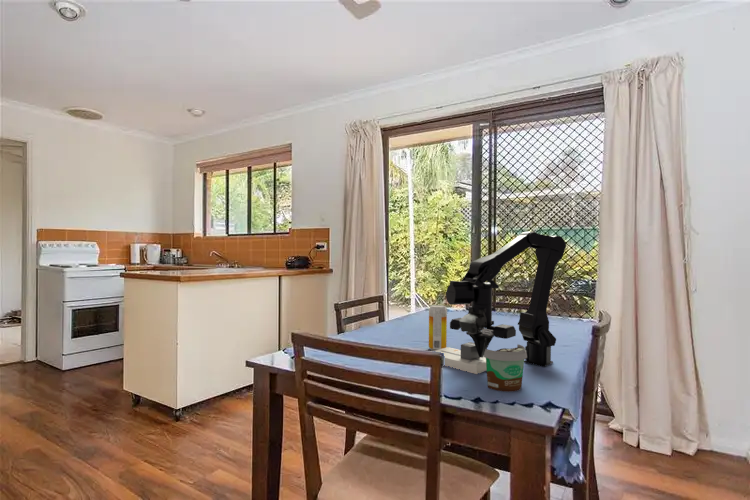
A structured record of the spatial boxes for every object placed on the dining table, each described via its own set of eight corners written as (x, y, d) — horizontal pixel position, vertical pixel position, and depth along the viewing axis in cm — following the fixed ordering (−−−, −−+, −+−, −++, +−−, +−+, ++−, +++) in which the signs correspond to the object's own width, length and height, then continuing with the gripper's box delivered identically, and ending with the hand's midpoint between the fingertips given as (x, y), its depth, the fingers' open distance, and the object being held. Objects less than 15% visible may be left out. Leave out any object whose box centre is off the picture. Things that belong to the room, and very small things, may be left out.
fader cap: (480, 357, 121) (480, 343, 121) (470, 360, 118) (471, 346, 118) (469, 354, 124) (470, 341, 124) (460, 358, 120) (460, 344, 120)
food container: (501, 396, 96) (501, 355, 96) (483, 388, 102) (483, 349, 102) (537, 388, 102) (538, 349, 102) (518, 381, 108) (519, 343, 107)
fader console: (496, 366, 121) (496, 358, 121) (476, 374, 113) (476, 365, 113) (447, 354, 134) (447, 346, 134) (426, 360, 126) (426, 352, 126)
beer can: (445, 347, 142) (446, 305, 142) (447, 352, 136) (447, 307, 136) (428, 347, 143) (428, 304, 143) (428, 351, 137) (429, 307, 137)
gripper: (439, 302, 119) (438, 355, 119) (496, 310, 106) (496, 369, 106) (460, 299, 127) (460, 349, 127) (517, 306, 114) (516, 361, 114)
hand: (481, 356), depth 118 cm, fingers closed
